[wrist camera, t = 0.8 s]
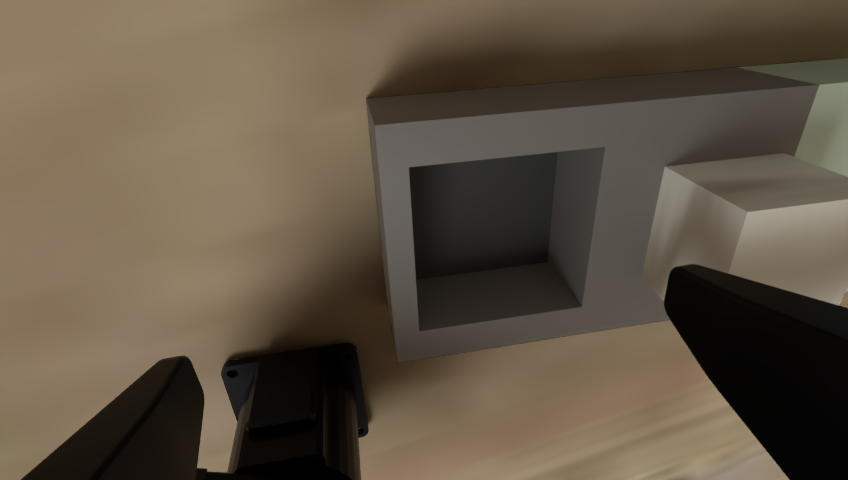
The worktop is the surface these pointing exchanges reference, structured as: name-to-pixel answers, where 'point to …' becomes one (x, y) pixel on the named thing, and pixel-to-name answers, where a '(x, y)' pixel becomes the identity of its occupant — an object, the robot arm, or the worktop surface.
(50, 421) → the worktop surface
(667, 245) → the cream block
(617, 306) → the trap deck
